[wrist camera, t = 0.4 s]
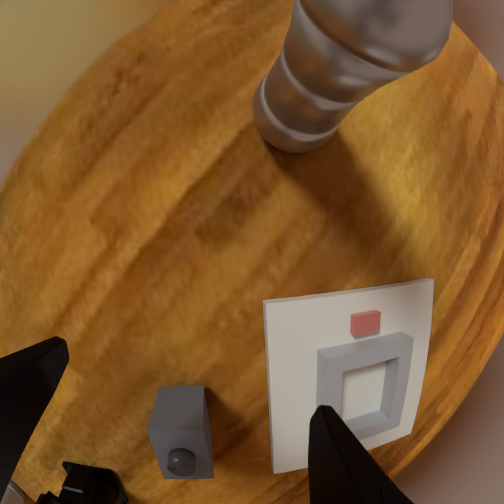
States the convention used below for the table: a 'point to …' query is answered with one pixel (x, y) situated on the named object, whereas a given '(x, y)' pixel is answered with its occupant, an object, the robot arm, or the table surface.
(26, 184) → the table surface
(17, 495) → the travel mug
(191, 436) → the plug
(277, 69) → the plastic bottle
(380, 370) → the socket
